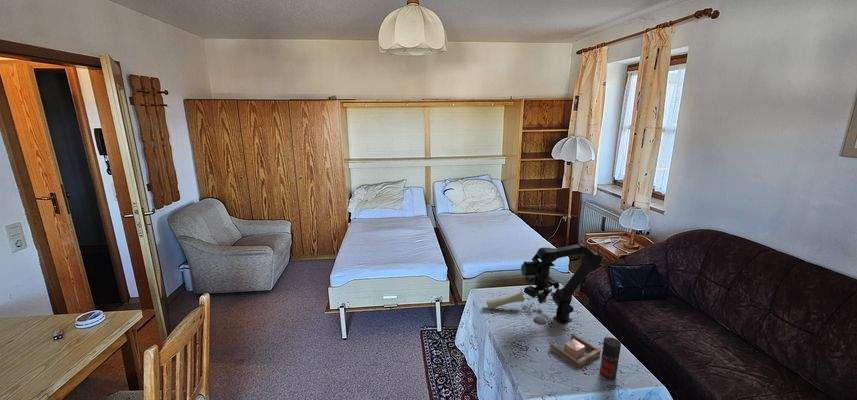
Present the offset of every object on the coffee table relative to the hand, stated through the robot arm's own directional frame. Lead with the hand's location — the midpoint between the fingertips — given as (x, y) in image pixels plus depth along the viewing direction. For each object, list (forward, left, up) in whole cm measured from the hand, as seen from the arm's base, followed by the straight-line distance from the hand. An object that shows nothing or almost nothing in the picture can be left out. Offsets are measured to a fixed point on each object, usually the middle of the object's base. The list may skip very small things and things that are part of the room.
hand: (540, 303), depth 176 cm
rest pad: (0, 0, -10) cm, 10 cm away
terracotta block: (+5, +24, -10) cm, 27 cm away
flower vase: (0, -14, -10) cm, 17 cm away
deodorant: (+6, +40, -10) cm, 42 cm away
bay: (+5, +25, -10) cm, 27 cm away
